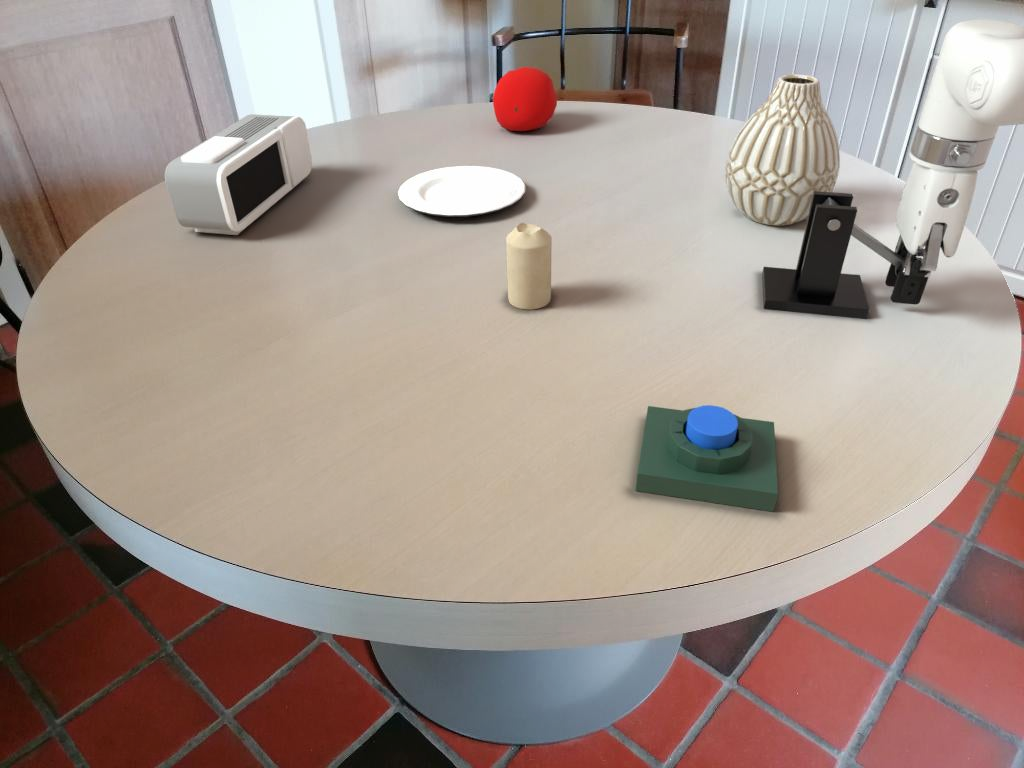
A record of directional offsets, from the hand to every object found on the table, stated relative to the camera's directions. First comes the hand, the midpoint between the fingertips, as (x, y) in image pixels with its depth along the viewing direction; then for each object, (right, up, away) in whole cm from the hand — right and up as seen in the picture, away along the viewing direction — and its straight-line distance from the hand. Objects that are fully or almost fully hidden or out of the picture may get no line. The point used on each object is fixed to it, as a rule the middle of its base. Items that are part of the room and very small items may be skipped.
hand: (901, 292), depth 93 cm
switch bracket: (-10, 0, +3) cm, 10 cm away
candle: (-46, 0, +4) cm, 46 cm away
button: (-30, -16, -24) cm, 42 cm away
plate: (-56, +19, +31) cm, 67 cm away
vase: (-8, +15, +23) cm, 29 cm away
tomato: (-45, +41, +60) cm, 86 cm away
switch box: (-30, -19, -22) cm, 41 cm away
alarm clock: (-90, +18, +31) cm, 97 cm away
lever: (-6, +5, -2) cm, 8 cm away
